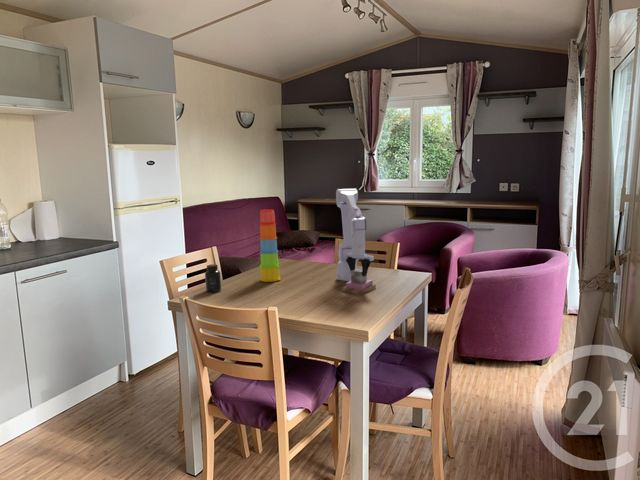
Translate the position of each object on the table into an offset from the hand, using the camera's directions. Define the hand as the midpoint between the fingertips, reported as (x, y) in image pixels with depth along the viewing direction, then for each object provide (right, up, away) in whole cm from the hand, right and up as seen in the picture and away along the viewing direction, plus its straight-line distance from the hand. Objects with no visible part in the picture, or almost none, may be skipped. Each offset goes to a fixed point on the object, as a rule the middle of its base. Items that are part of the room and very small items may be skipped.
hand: (358, 274), depth 218 cm
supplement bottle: (-66, -8, +4) cm, 66 cm away
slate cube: (0, -3, +1) cm, 3 cm away
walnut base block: (0, -8, +1) cm, 8 cm away
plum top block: (0, -5, +1) cm, 5 cm away
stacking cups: (-42, -4, +22) cm, 47 cm away
